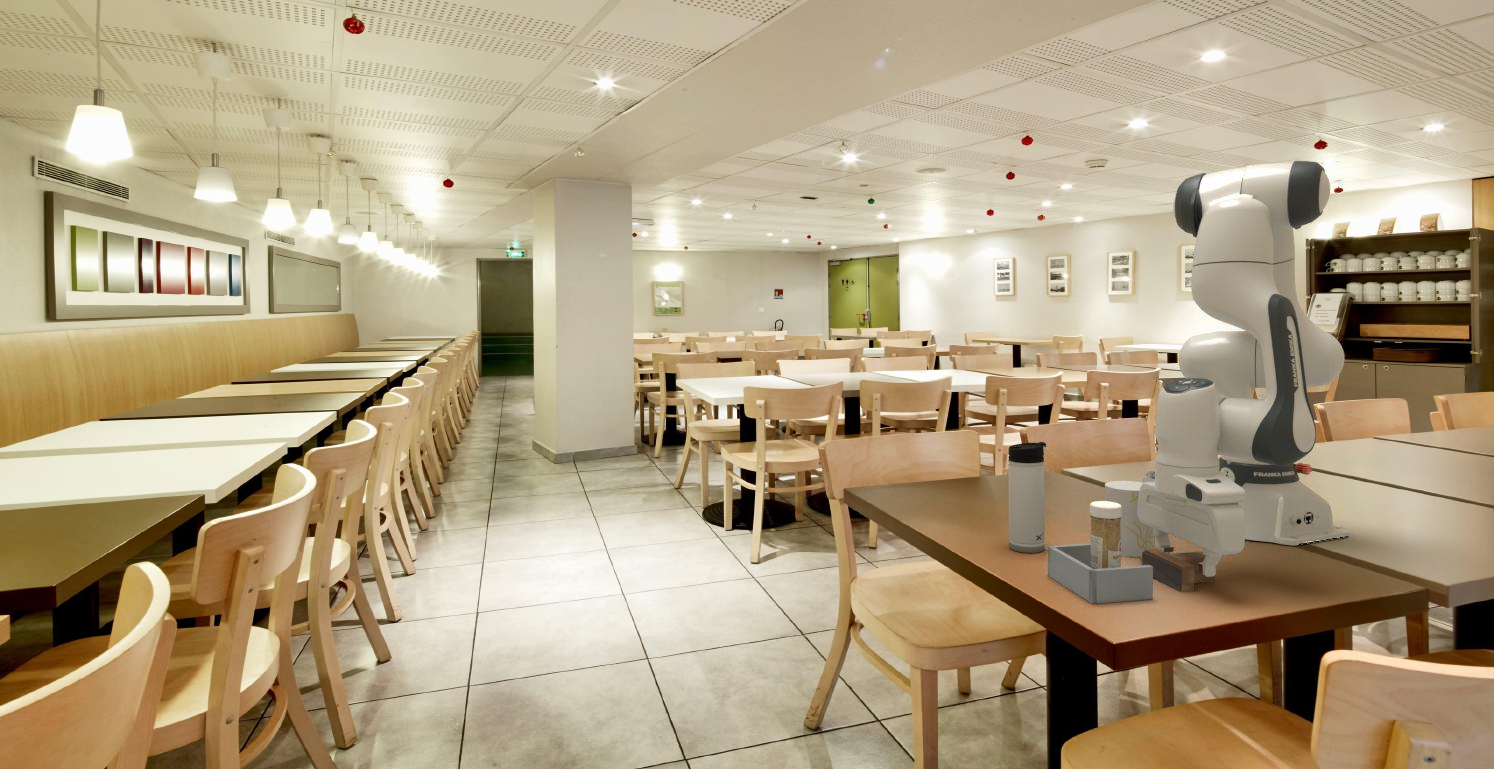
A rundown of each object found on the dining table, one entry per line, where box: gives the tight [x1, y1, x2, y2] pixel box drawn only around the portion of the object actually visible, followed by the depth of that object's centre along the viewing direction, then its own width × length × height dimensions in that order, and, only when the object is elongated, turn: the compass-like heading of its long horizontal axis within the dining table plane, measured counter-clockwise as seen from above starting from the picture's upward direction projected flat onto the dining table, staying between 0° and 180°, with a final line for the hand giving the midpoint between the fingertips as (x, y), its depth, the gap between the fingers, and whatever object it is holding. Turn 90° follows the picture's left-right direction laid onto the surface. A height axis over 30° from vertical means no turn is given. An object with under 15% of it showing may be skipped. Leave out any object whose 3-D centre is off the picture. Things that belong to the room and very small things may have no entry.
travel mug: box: [1007, 441, 1047, 554], centre depth 137 cm, size 6×7×20 cm
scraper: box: [1141, 548, 1216, 593], centre depth 119 cm, size 8×9×4 cm
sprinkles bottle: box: [1089, 500, 1122, 569], centre depth 117 cm, size 5×5×14 cm
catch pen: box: [1047, 542, 1154, 605], centre depth 117 cm, size 10×13×5 cm
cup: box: [1104, 480, 1156, 558], centre depth 134 cm, size 8×8×12 cm
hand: (1185, 565), depth 119 cm, fingers open, 8 cm apart
